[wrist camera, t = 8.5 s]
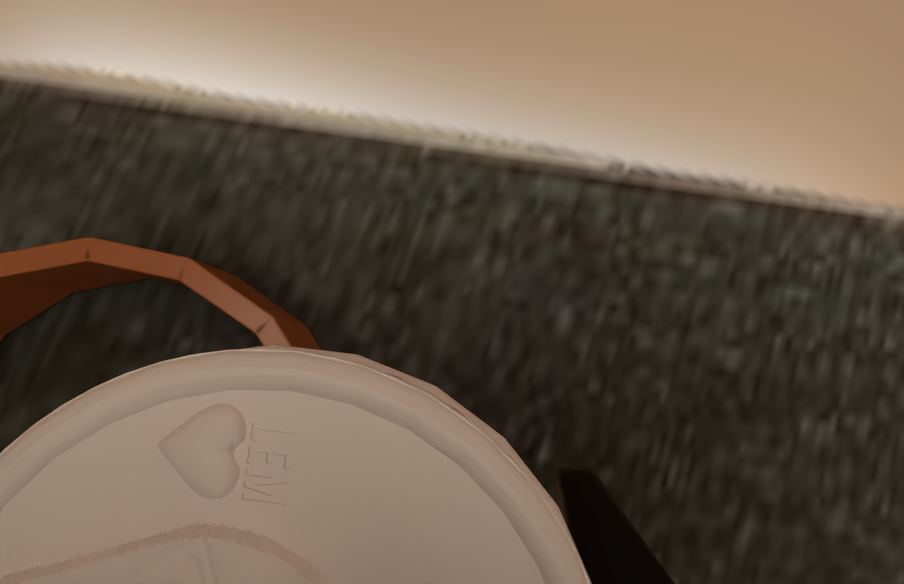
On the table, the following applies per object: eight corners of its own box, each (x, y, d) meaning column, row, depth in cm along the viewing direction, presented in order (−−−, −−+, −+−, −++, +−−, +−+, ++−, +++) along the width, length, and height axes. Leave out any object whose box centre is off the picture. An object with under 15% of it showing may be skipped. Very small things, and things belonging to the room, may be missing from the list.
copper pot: (448, 423, 23) (446, 436, 19) (189, 805, 22) (129, 905, 18) (-87, 52, 24) (-197, -11, 20) (-355, 401, 23) (-527, 410, 19)
